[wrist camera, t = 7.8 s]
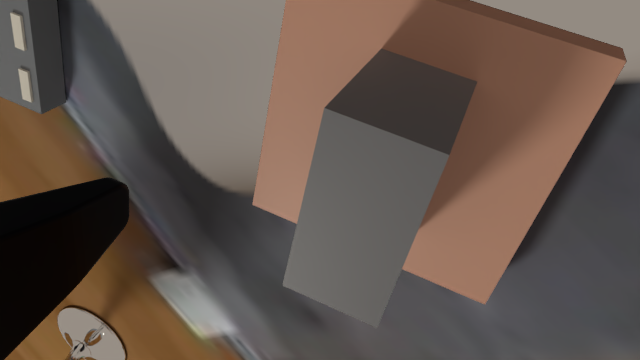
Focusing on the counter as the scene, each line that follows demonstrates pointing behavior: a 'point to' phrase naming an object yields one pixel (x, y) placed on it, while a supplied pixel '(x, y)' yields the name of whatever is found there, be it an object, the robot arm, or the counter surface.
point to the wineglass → (89, 336)
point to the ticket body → (31, 54)
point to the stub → (418, 141)
